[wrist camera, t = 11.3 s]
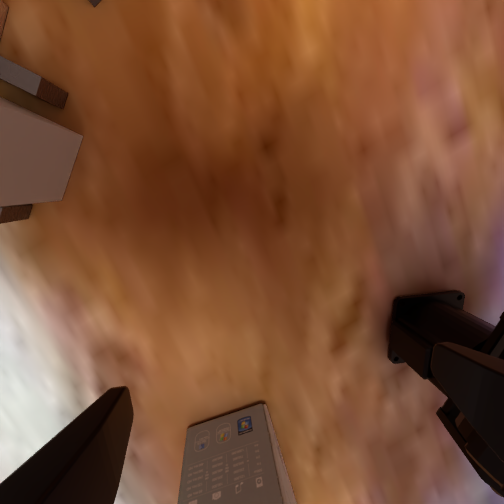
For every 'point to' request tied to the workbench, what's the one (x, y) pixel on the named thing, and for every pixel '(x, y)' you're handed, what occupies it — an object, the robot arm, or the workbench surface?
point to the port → (35, 86)
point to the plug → (33, 156)
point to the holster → (94, 2)
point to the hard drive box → (235, 462)
